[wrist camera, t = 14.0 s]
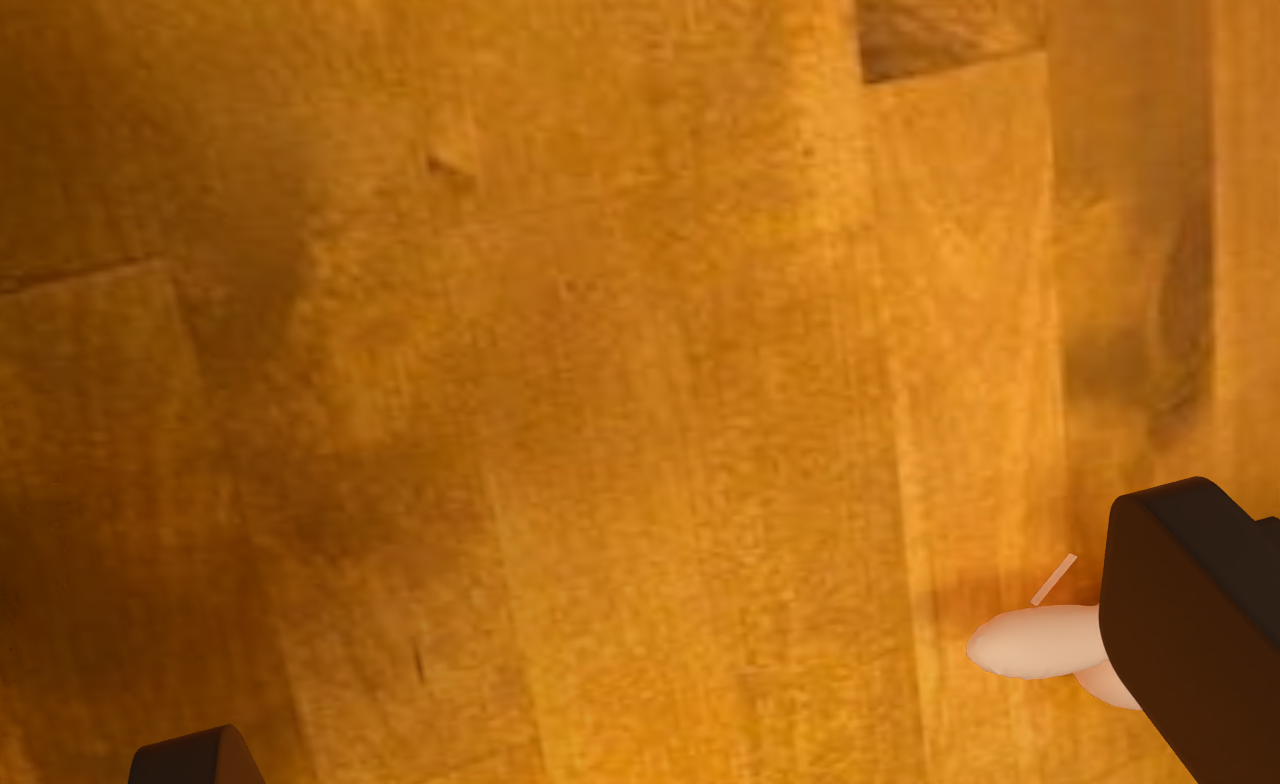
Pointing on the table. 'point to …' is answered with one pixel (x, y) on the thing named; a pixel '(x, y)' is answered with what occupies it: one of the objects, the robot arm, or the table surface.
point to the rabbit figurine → (1050, 645)
